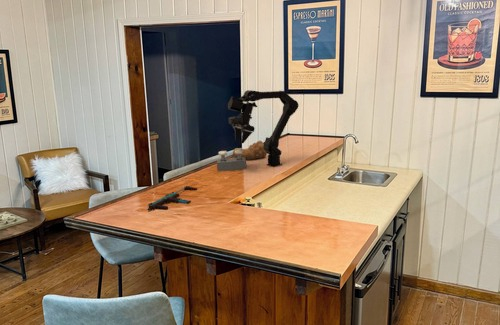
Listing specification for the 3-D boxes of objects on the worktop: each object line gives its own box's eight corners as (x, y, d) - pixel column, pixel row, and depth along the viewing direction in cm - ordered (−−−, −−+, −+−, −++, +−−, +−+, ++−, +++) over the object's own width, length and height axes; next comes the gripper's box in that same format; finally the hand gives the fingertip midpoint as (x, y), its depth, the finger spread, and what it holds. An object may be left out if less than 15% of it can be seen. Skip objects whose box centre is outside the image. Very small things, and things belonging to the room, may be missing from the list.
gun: (171, 210, 167) (141, 206, 173) (171, 216, 167) (141, 211, 173) (209, 188, 194) (182, 185, 200) (210, 192, 195) (183, 189, 201)
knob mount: (245, 165, 236) (245, 157, 235) (246, 169, 229) (245, 160, 227) (218, 167, 236) (217, 159, 235) (217, 171, 228) (216, 162, 227)
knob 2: (243, 160, 234) (242, 149, 232) (243, 162, 229) (242, 151, 228) (235, 161, 234) (234, 150, 232) (235, 163, 229) (234, 151, 228)
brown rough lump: (259, 167, 245) (272, 155, 254) (255, 152, 240) (268, 140, 249) (234, 163, 256) (248, 151, 266) (230, 149, 251) (244, 137, 260)
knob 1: (227, 161, 234) (226, 150, 232) (227, 163, 229) (226, 152, 228) (219, 162, 233) (218, 151, 232) (219, 164, 229) (218, 153, 227)
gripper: (226, 108, 226) (219, 136, 227) (238, 111, 209) (231, 141, 210) (244, 113, 230) (238, 140, 232) (258, 116, 213) (250, 145, 215)
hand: (239, 141), depth 222 cm, fingers open, 9 cm apart
